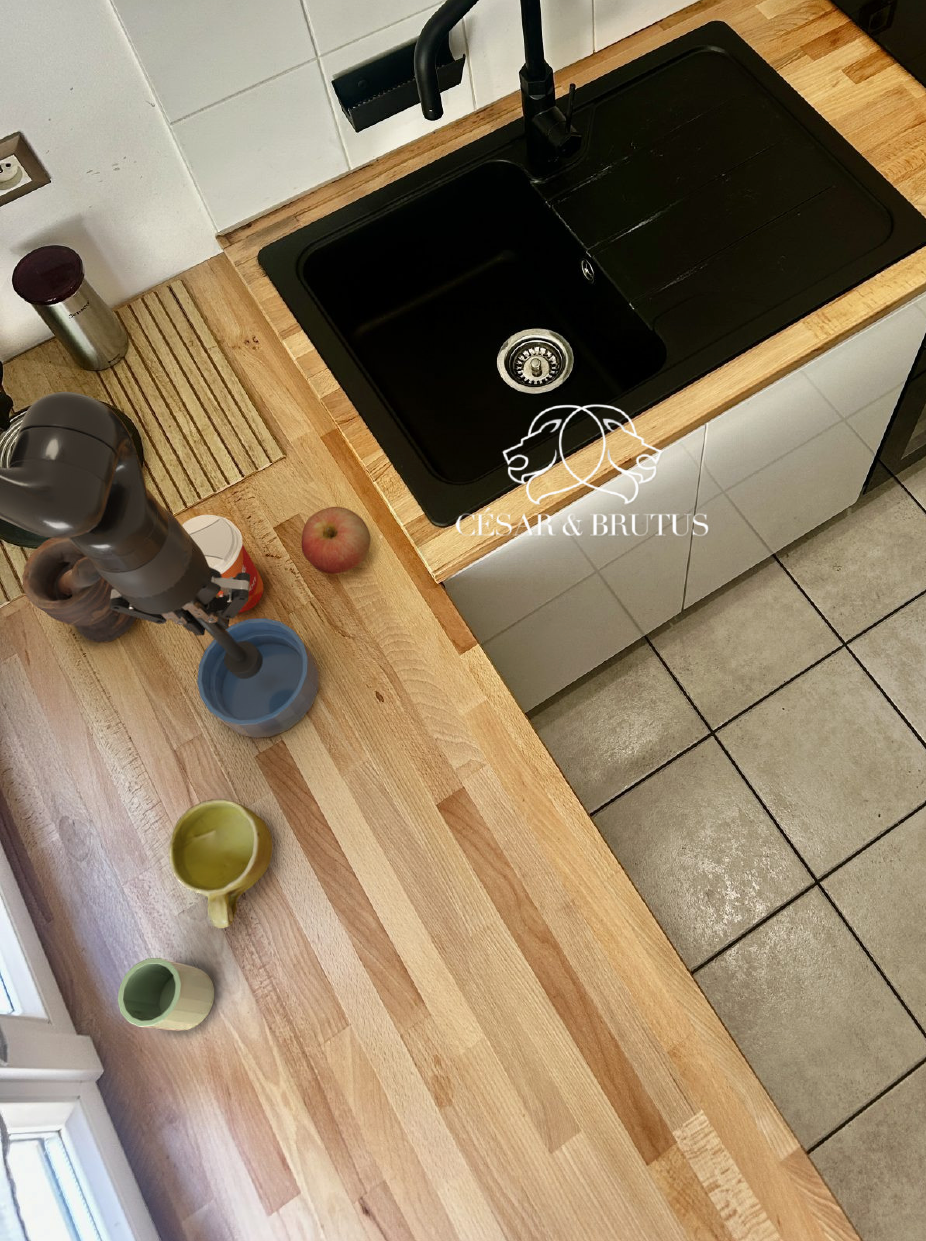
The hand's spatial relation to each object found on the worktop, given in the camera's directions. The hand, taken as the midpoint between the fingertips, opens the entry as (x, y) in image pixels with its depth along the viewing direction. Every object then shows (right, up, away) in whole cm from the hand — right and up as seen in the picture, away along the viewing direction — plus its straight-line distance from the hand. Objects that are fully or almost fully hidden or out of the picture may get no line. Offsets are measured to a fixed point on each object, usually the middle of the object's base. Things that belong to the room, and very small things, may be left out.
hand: (211, 625), depth 114 cm
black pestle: (0, -6, +10) cm, 12 cm away
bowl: (+1, -9, +17) cm, 20 cm away
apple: (+8, +5, +25) cm, 27 cm away
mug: (0, -27, +8) cm, 28 cm away
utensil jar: (-3, -38, +2) cm, 38 cm away
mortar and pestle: (-18, -2, +22) cm, 29 cm away
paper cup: (-4, +1, +23) cm, 24 cm away
